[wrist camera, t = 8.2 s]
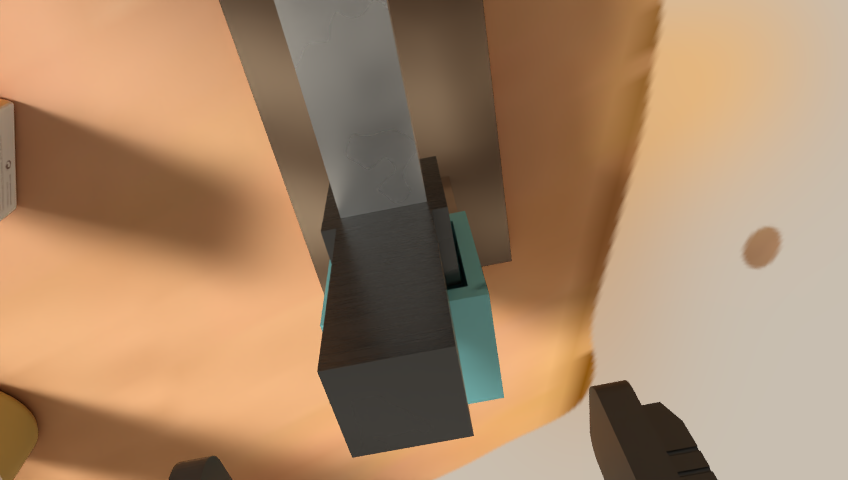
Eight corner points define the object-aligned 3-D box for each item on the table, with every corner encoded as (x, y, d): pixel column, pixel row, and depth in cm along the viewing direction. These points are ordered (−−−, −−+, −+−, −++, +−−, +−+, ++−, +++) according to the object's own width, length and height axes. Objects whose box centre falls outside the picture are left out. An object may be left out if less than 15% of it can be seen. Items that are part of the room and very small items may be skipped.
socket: (332, 236, 22) (320, 325, 17) (465, 210, 22) (488, 293, 17) (361, 325, 25) (357, 424, 20) (479, 303, 25) (504, 397, 20)
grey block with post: (185, -301, 13) (-184, -703, 4) (346, -338, 13) (283, -825, 4) (368, 300, 23) (361, 527, 15) (459, 282, 23) (506, 502, 14)
